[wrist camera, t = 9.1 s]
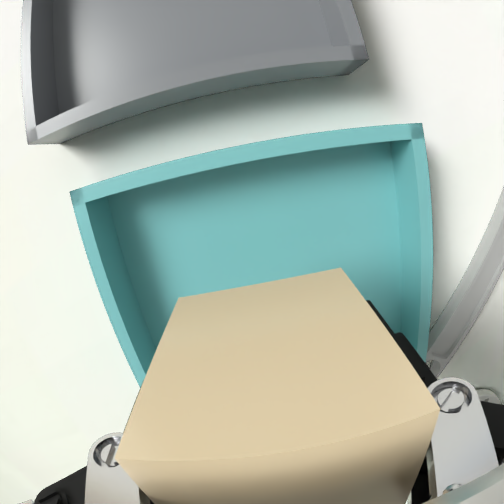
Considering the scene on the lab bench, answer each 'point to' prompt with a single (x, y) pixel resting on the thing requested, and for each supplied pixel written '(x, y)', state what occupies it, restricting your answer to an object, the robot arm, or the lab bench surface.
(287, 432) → the sandstone block
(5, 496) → the lab bench surface
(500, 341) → the lab bench surface
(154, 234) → the teal bin
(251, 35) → the charcoal bin
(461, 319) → the adjustable wrench
